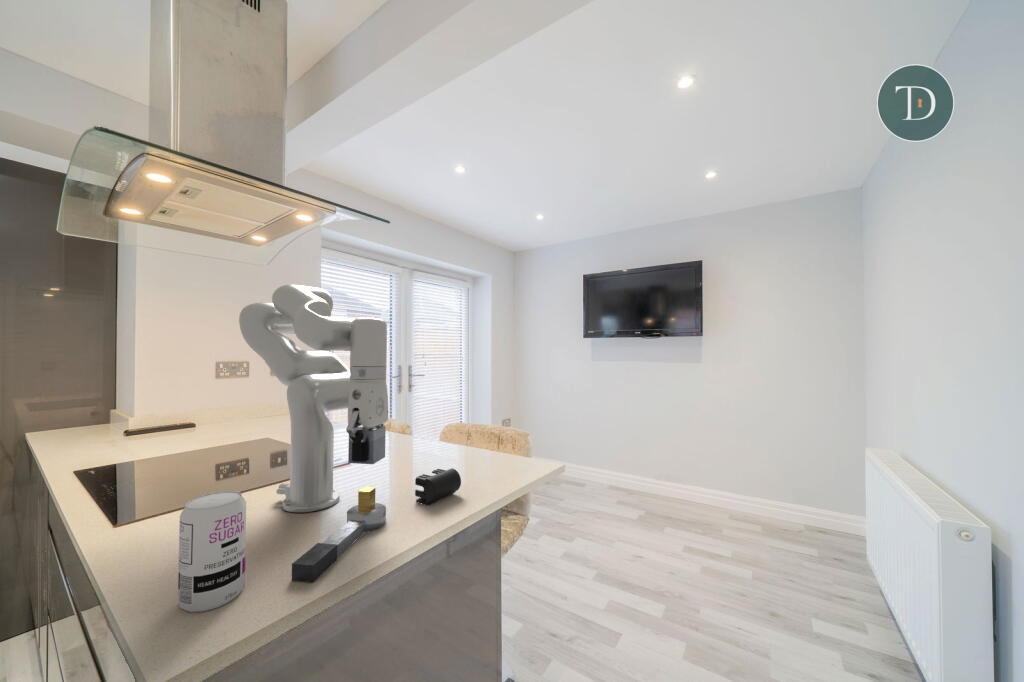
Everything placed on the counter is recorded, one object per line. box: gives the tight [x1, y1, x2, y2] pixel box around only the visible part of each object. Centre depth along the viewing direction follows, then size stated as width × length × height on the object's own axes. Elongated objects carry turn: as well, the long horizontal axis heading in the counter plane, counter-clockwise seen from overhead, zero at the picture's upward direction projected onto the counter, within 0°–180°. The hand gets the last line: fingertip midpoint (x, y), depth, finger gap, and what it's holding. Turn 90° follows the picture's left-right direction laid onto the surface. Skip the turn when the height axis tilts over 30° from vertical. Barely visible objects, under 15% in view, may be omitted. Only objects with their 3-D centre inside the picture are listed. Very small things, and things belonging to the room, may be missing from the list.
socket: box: [347, 425, 387, 465], centre depth 86 cm, size 6×6×7 cm
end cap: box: [414, 467, 462, 506], centre depth 101 cm, size 10×7×7 cm
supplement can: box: [177, 490, 247, 613], centre depth 61 cm, size 8×8×15 cm
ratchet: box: [291, 486, 387, 584], centre depth 77 cm, size 8×26×8 cm, turn 173°
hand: (367, 456), depth 86 cm, fingers closed on socket, 5 cm apart
